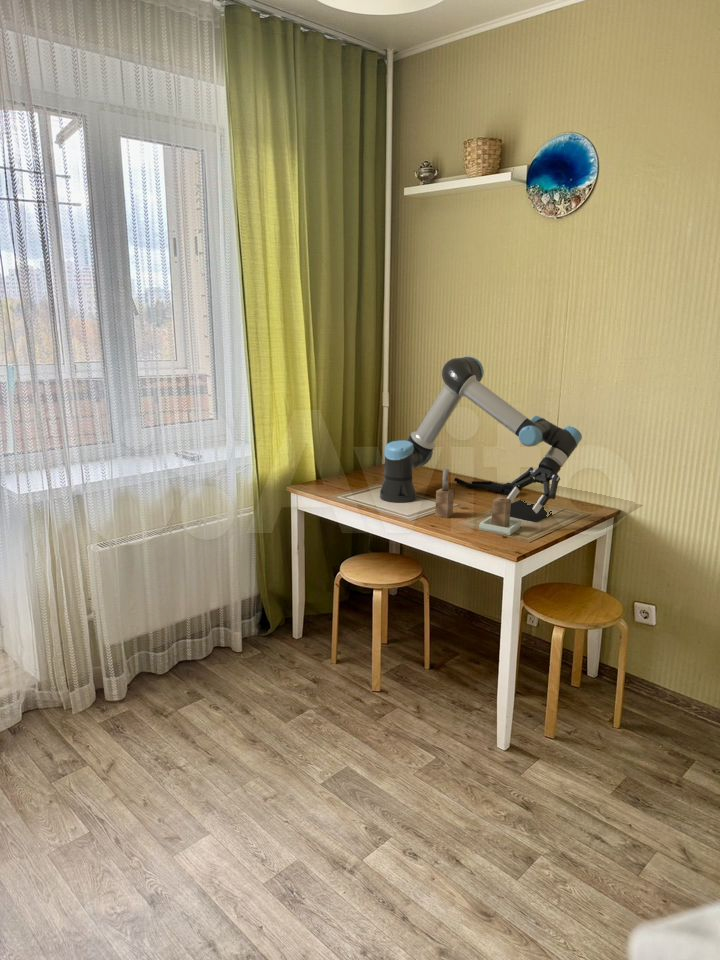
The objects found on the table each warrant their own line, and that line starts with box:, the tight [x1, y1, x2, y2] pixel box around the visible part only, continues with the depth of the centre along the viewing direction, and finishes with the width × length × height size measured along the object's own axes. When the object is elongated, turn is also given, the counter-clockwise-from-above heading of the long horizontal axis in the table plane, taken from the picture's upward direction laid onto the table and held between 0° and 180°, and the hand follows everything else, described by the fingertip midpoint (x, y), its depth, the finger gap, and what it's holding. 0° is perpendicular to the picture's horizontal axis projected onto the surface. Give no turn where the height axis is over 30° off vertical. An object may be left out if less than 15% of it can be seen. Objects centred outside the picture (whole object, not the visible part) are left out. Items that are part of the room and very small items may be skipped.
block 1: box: [434, 468, 455, 519], centre depth 265 cm, size 5×5×18 cm
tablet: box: [490, 499, 553, 524], centre depth 275 cm, size 27×1×20 cm
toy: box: [453, 477, 523, 497], centre depth 305 cm, size 10×5×30 cm
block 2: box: [491, 496, 511, 528], centre depth 251 cm, size 5×5×10 cm
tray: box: [478, 515, 522, 536], centre depth 252 cm, size 12×12×2 cm
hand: (520, 506), depth 256 cm, fingers open, 13 cm apart
